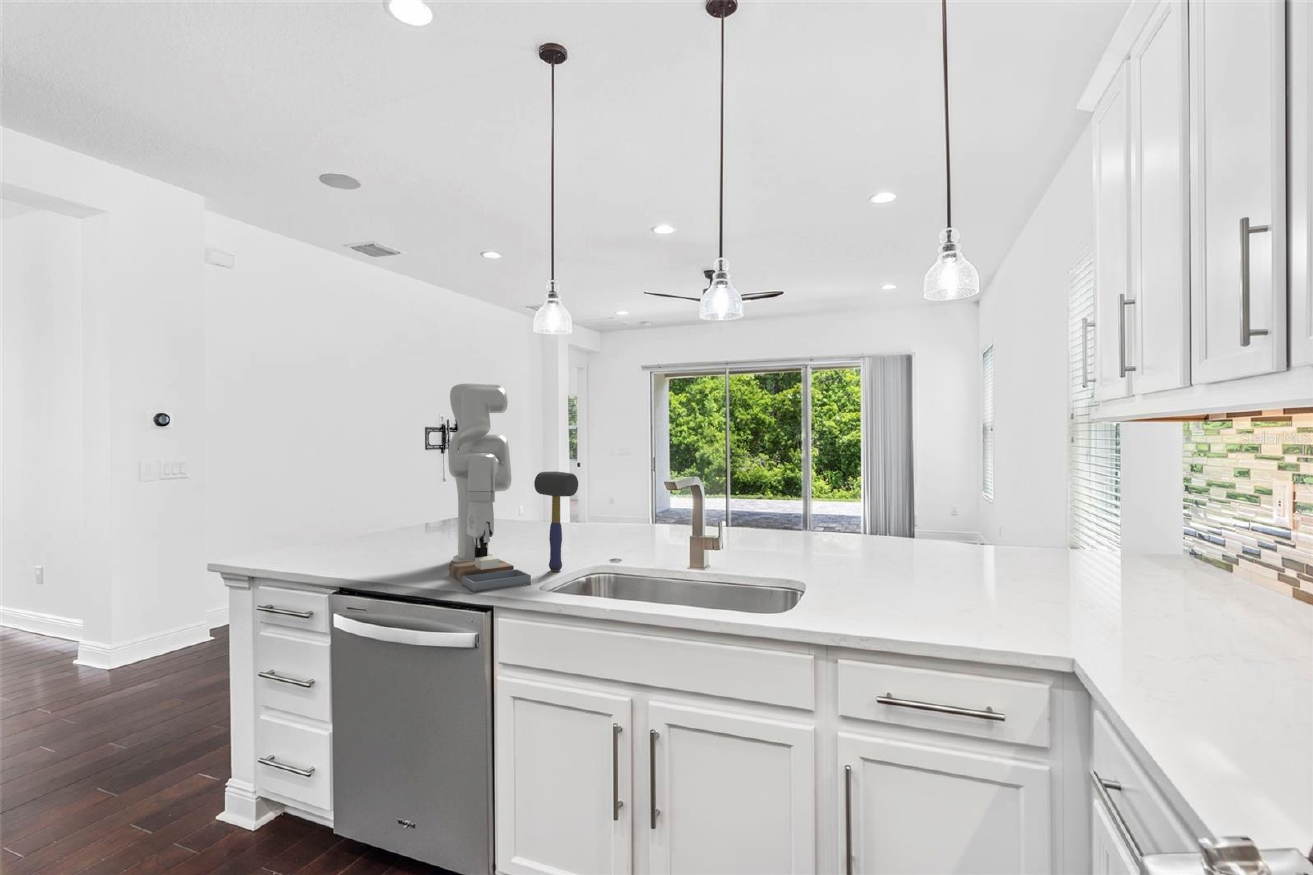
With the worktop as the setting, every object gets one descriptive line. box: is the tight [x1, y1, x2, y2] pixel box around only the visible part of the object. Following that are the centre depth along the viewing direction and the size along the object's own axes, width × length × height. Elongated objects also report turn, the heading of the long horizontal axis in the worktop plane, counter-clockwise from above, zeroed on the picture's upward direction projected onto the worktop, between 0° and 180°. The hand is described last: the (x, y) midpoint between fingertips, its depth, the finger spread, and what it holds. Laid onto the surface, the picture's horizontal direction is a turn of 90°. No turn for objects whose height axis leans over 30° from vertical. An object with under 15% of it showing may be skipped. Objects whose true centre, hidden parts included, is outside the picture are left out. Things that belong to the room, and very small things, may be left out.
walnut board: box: [448, 558, 515, 584], centre depth 178 cm, size 14×14×4 cm
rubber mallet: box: [533, 471, 579, 573], centre depth 186 cm, size 12×8×30 cm, turn 60°
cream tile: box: [475, 555, 500, 570], centre depth 174 cm, size 5×5×2 cm
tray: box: [461, 568, 532, 593], centre depth 168 cm, size 9×16×2 cm, turn 126°
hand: (481, 560), depth 178 cm, fingers closed
